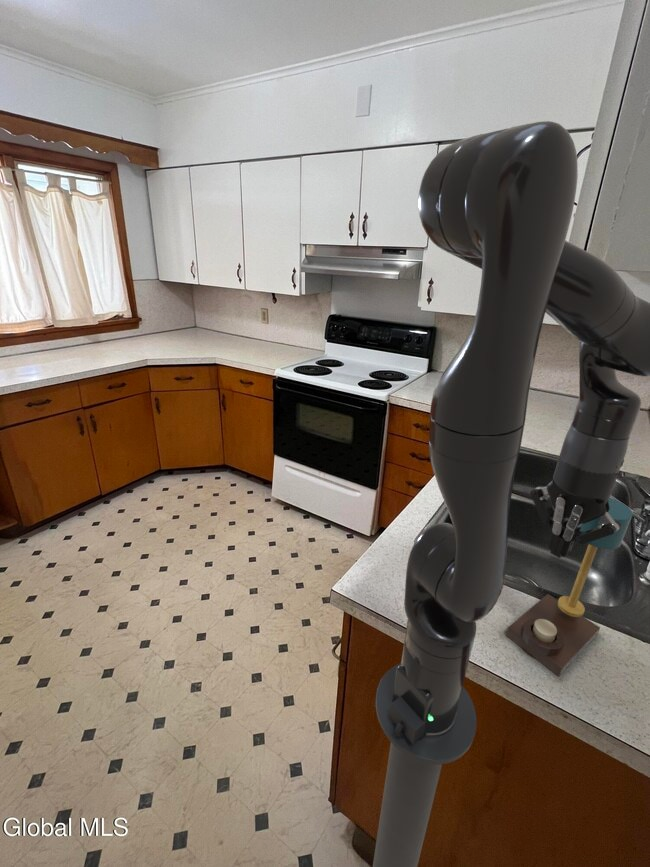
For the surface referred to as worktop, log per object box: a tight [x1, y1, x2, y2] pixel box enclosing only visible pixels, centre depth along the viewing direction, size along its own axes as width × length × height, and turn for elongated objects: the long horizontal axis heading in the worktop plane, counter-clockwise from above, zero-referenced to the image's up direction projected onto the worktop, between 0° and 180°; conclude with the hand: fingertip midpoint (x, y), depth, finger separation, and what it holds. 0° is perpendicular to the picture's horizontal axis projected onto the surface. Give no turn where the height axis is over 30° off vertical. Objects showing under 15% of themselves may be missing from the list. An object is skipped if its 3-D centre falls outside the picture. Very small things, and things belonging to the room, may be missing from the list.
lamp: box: [557, 497, 634, 617], centre depth 75 cm, size 7×7×23 cm
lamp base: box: [505, 593, 601, 677], centre depth 78 cm, size 15×10×4 cm
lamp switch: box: [532, 619, 557, 643], centre depth 75 cm, size 4×4×2 cm
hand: (557, 554), depth 68 cm, fingers closed
